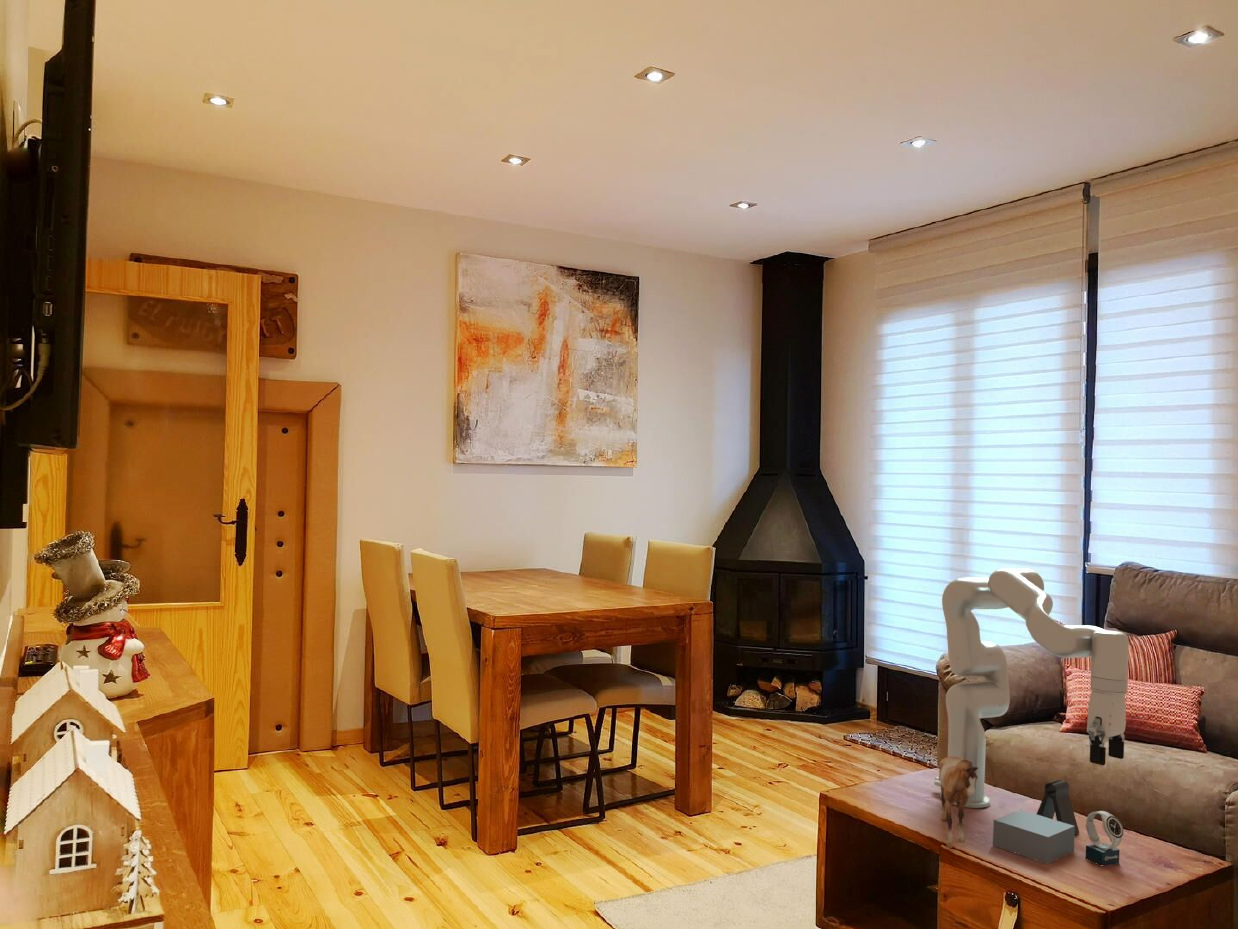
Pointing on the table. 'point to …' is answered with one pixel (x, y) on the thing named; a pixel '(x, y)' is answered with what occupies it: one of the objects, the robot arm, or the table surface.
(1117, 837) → the watch
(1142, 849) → the table surface
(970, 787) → the horse figurine
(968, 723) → the robot arm
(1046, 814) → the phone stand
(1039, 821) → the base block
